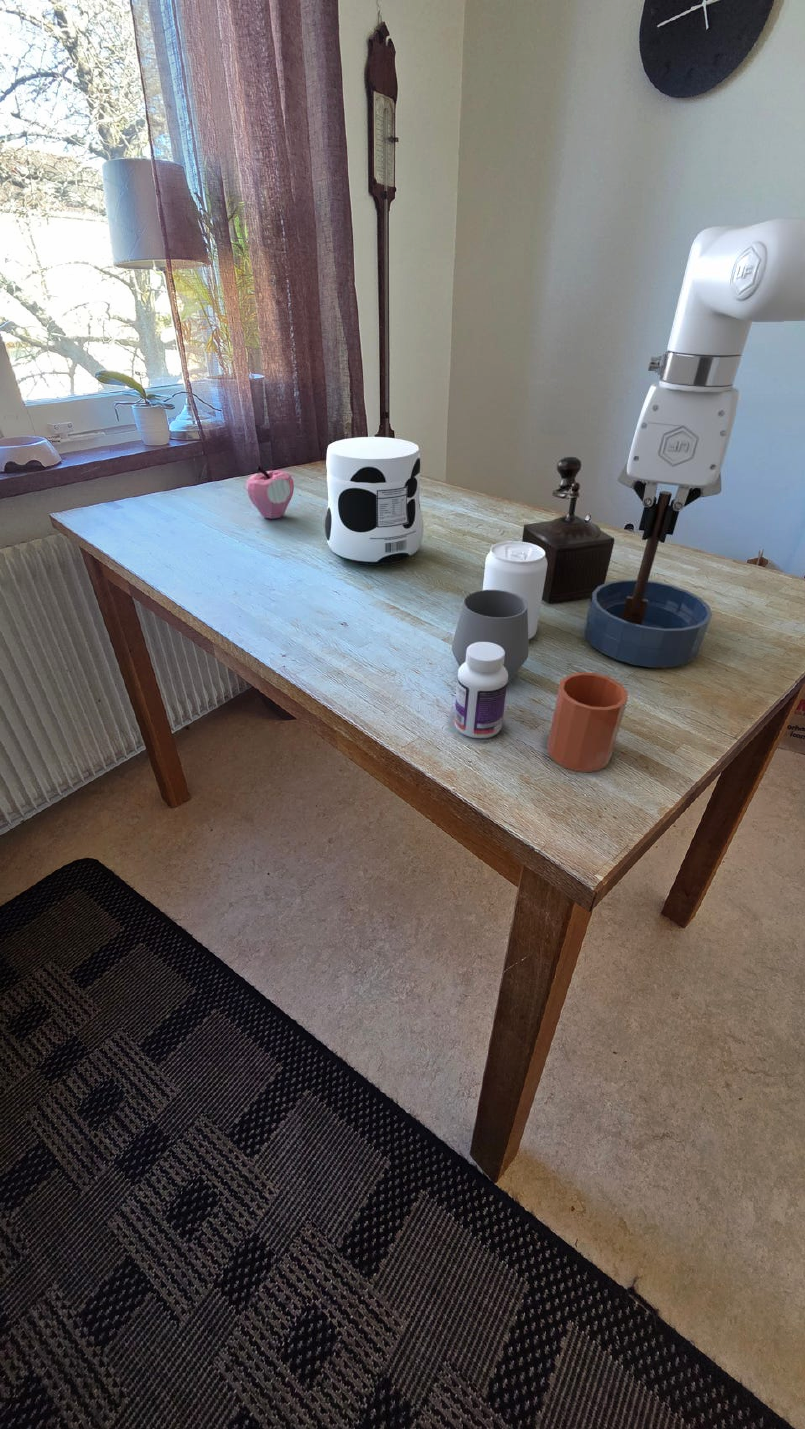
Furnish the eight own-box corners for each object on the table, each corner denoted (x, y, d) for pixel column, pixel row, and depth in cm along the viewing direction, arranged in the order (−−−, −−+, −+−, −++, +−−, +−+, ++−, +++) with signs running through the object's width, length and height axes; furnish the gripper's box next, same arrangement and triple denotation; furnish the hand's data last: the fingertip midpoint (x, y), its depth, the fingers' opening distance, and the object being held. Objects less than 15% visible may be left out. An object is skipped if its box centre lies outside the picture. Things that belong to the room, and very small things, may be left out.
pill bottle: (507, 718, 69) (518, 644, 63) (493, 745, 65) (503, 669, 60) (463, 706, 71) (469, 633, 65) (446, 731, 67) (452, 657, 61)
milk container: (355, 530, 118) (352, 431, 107) (437, 545, 112) (442, 442, 101) (308, 561, 105) (298, 452, 95) (397, 580, 100) (398, 466, 89)
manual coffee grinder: (608, 595, 96) (635, 478, 85) (547, 605, 93) (568, 485, 82) (556, 559, 108) (575, 452, 97) (501, 566, 105) (514, 457, 94)
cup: (517, 655, 81) (527, 586, 75) (530, 695, 73) (543, 622, 67) (447, 655, 80) (451, 586, 74) (453, 695, 73) (459, 622, 67)
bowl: (722, 659, 81) (738, 619, 77) (630, 680, 76) (642, 639, 72) (646, 610, 92) (657, 573, 88) (562, 626, 87) (569, 588, 84)
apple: (259, 526, 119) (253, 474, 113) (243, 514, 125) (236, 463, 119) (303, 518, 123) (299, 467, 117) (286, 507, 129) (281, 457, 123)
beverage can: (537, 622, 88) (550, 543, 81) (534, 649, 82) (548, 566, 75) (482, 615, 90) (490, 537, 83) (475, 642, 83) (483, 559, 76)
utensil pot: (623, 763, 63) (642, 701, 58) (569, 778, 61) (584, 715, 56) (586, 727, 68) (600, 667, 63) (534, 740, 66) (546, 679, 61)
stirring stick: (641, 624, 84) (678, 492, 73) (640, 629, 83) (677, 495, 72) (620, 620, 85) (654, 489, 74) (619, 625, 84) (653, 492, 73)
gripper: (619, 371, 65) (586, 538, 76) (780, 382, 60) (720, 558, 71) (628, 363, 71) (596, 520, 81) (776, 373, 66) (720, 538, 77)
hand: (654, 537), depth 76 cm, fingers closed on stirring stick, 1 cm apart
